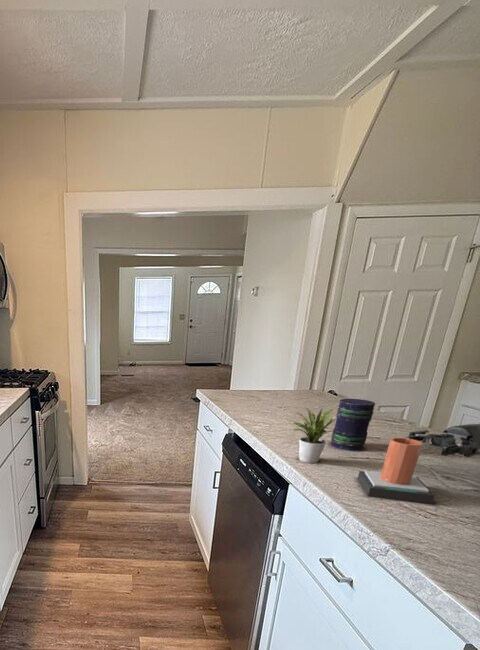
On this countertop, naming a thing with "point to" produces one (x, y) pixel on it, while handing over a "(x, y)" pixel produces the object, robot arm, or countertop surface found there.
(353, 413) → the storage jar
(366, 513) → the countertop surface
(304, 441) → the house plant
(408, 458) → the cup
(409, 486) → the scale
